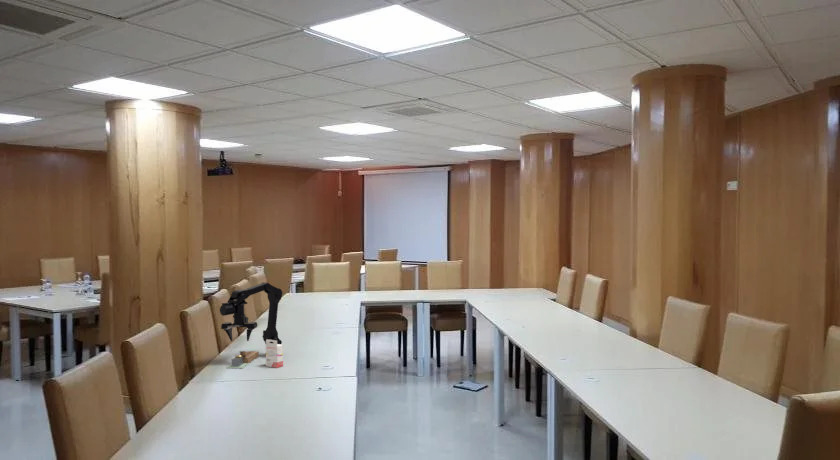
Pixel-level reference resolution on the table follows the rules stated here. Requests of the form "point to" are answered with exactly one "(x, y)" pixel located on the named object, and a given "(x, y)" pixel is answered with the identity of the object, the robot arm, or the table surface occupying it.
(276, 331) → the robot arm
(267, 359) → the ink cartridge box
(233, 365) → the lever cap
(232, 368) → the mat
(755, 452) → the table surface
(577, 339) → the table surface
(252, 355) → the body
